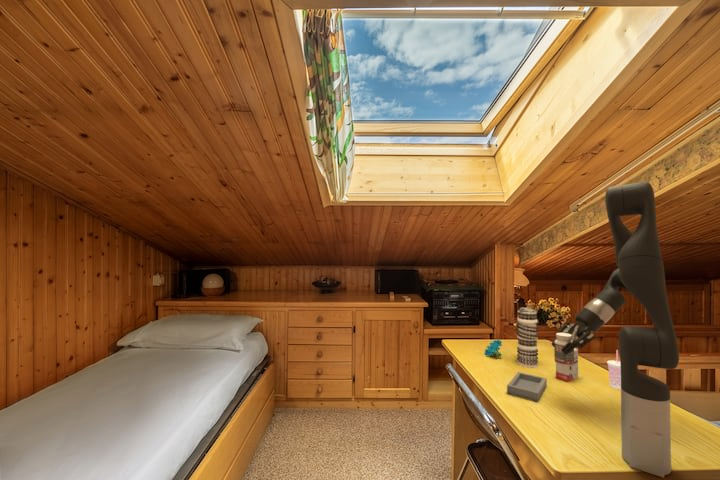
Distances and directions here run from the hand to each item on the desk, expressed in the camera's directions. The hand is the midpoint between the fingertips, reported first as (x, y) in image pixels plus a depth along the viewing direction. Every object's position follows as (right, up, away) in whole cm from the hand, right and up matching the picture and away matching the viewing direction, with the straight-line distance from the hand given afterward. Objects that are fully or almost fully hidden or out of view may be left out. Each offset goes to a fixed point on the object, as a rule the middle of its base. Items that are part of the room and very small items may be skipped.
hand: (558, 349), depth 111 cm
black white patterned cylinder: (+8, -19, +36) cm, 41 cm away
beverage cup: (+30, -18, +12) cm, 37 cm away
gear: (-3, -19, +47) cm, 50 cm away
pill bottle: (+2, -5, 0) cm, 5 cm away
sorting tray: (-6, -18, +10) cm, 21 cm away
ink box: (+16, -19, +20) cm, 32 cm away
